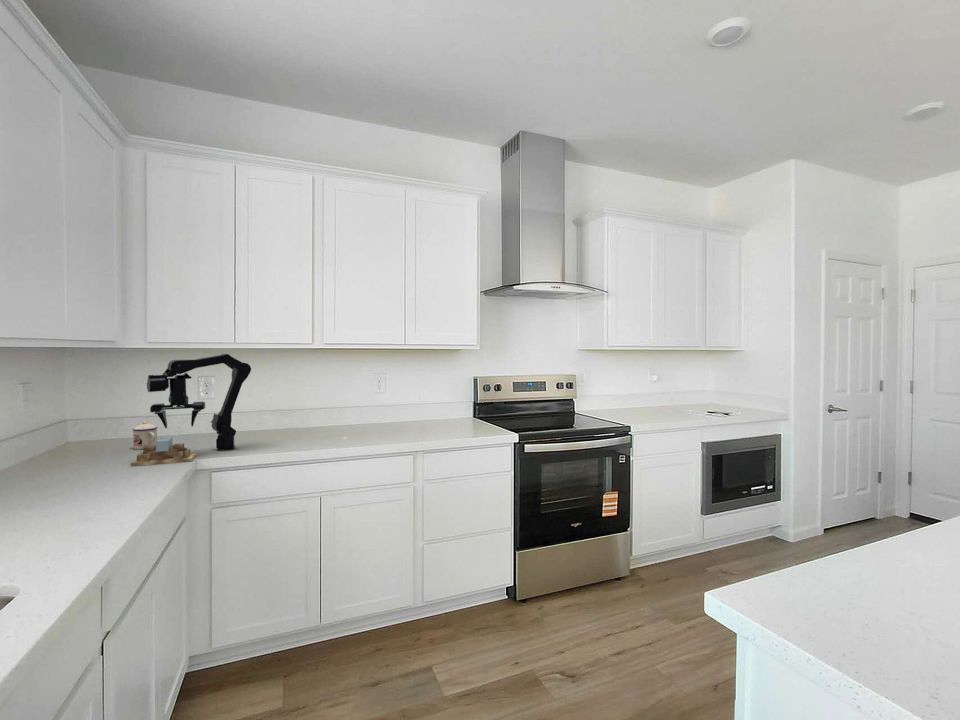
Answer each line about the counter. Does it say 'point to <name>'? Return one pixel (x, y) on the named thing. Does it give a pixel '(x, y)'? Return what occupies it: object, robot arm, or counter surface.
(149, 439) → the teacup with lid
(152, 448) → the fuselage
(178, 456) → the jig
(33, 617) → the counter surface
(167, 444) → the light blue block
